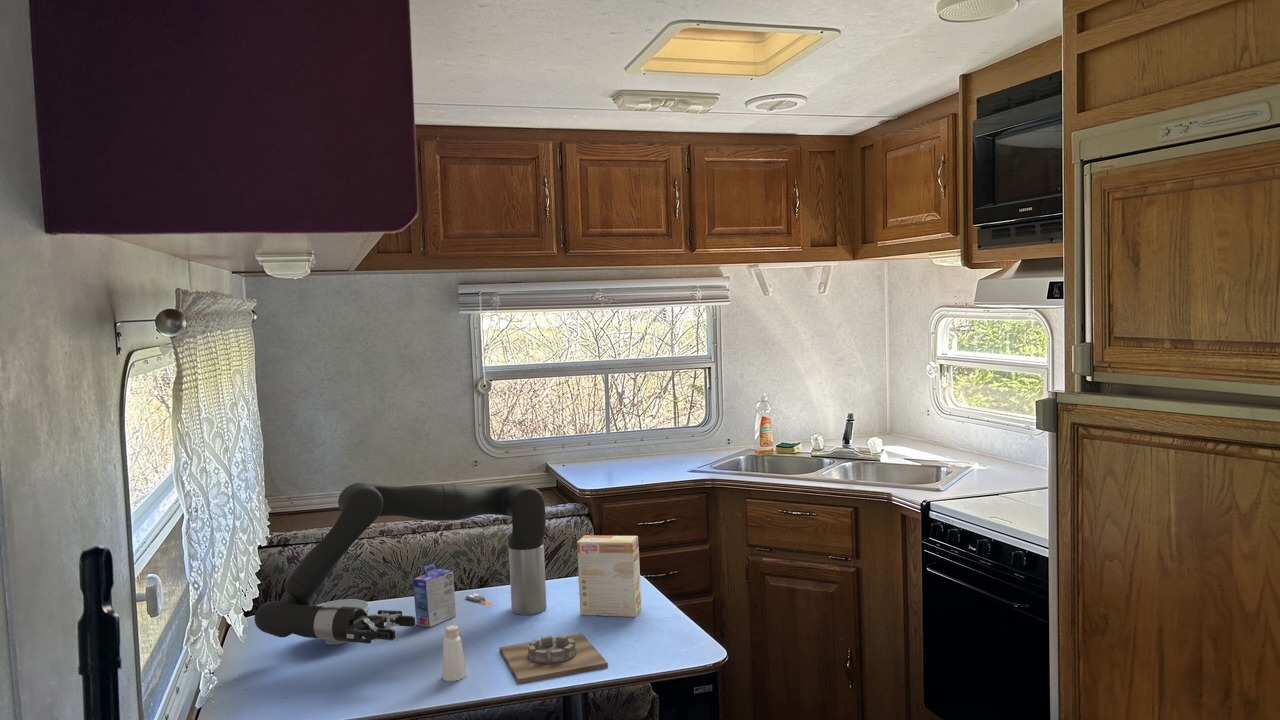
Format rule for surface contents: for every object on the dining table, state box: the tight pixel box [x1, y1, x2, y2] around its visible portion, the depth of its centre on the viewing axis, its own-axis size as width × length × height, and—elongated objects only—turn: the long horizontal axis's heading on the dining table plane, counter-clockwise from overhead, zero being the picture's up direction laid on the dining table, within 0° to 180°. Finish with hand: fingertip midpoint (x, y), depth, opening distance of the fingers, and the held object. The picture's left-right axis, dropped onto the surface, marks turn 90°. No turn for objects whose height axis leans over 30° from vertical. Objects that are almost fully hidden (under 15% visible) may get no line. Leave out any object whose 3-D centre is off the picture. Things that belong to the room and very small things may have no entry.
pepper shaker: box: [441, 625, 468, 682], centre depth 193 cm, size 5×5×11 cm
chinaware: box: [315, 598, 370, 646], centre depth 219 cm, size 15×15×8 cm
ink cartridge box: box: [412, 563, 457, 628], centre depth 230 cm, size 10×6×14 cm, turn 148°
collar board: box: [499, 632, 609, 684], centre depth 201 cm, size 20×20×4 cm
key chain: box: [465, 593, 492, 607], centre depth 244 cm, size 13×4×2 cm, turn 44°
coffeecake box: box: [576, 535, 642, 618], centre depth 231 cm, size 15×7×20 cm, turn 77°
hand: (404, 628), depth 196 cm, fingers open, 8 cm apart
